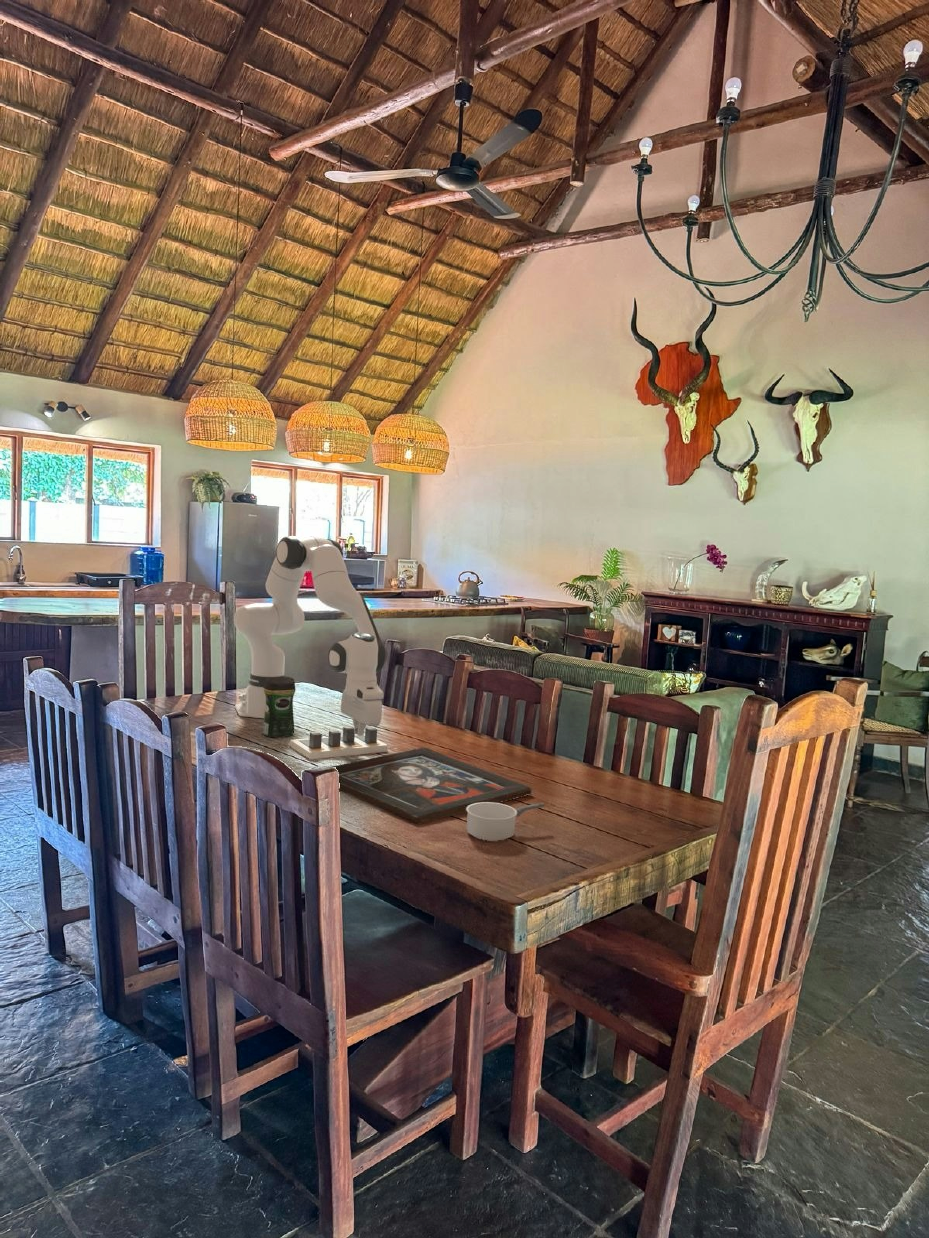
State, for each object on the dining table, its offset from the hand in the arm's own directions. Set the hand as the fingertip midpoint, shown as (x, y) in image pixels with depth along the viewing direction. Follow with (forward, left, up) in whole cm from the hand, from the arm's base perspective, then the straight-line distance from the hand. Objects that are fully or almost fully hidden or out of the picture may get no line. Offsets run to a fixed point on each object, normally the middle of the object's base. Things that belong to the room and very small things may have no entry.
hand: (359, 734), depth 240 cm
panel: (-7, -3, -6) cm, 9 cm away
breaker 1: (-4, -12, -4) cm, 13 cm away
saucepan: (+70, +3, -6) cm, 71 cm away
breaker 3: (-7, 0, -4) cm, 8 cm away
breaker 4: (-4, +6, -4) cm, 8 cm away
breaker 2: (-4, -6, -4) cm, 8 cm away
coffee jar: (-29, -14, -6) cm, 33 cm away
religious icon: (+33, +2, -7) cm, 34 cm away
